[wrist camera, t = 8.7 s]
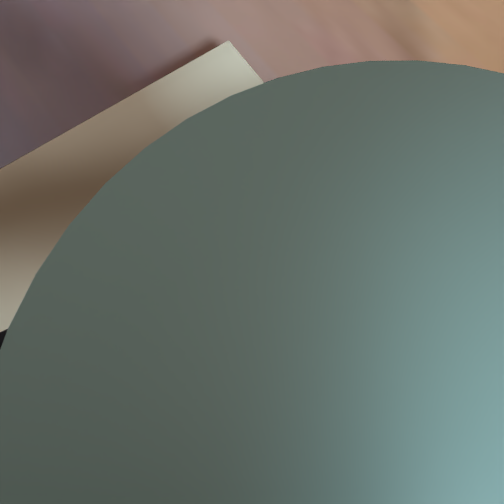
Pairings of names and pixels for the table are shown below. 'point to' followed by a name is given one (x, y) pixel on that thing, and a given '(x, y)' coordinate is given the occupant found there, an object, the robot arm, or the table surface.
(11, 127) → the table surface
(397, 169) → the post
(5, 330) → the robot arm
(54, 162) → the base board
